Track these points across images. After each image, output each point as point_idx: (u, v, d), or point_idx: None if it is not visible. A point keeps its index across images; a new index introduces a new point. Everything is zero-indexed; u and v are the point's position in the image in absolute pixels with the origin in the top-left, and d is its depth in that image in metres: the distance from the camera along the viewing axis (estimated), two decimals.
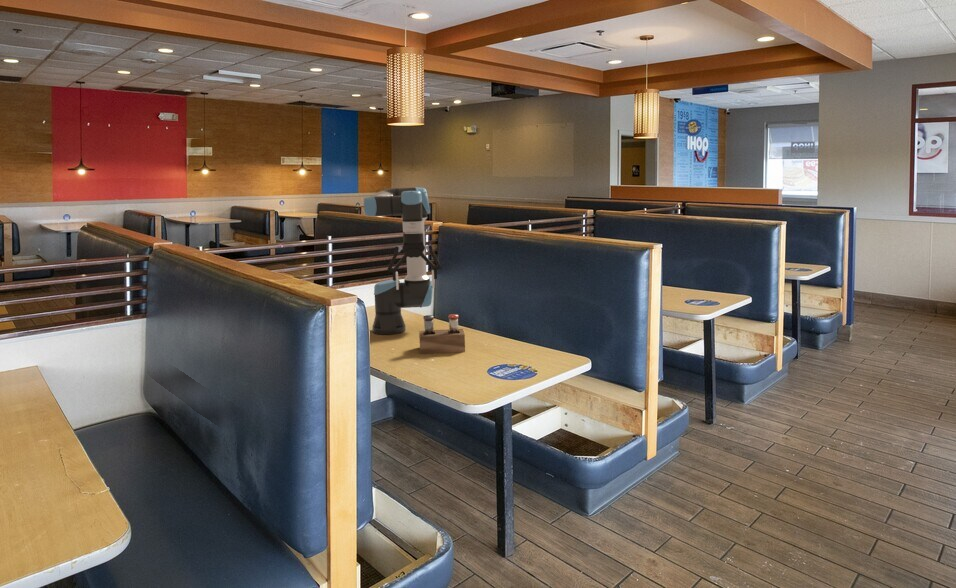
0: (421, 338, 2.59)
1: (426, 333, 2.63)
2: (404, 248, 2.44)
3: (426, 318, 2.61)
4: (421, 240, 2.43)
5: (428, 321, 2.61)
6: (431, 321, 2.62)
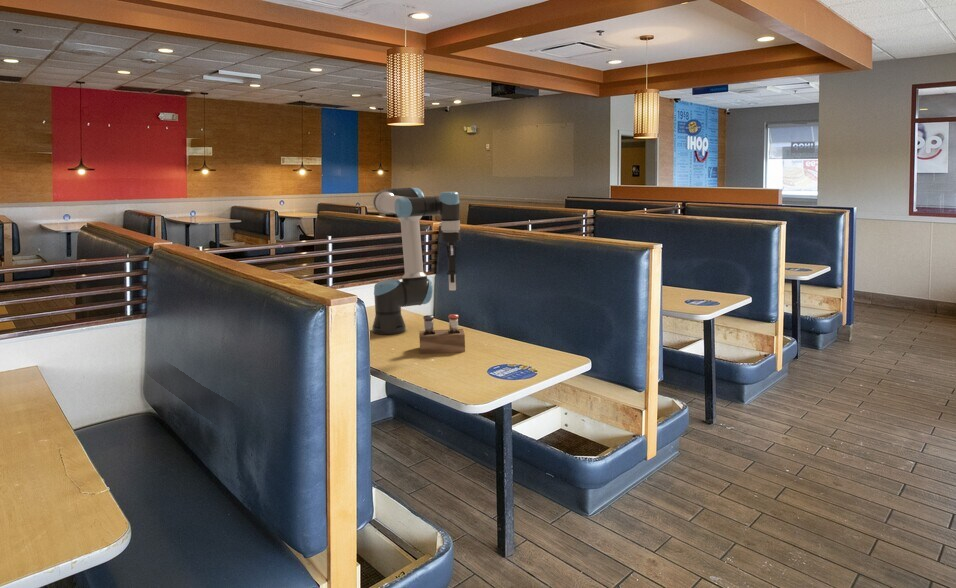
0: (421, 338, 2.59)
1: (426, 333, 2.63)
2: None
3: (426, 318, 2.61)
4: (445, 239, 2.55)
5: (428, 321, 2.61)
6: (431, 321, 2.62)
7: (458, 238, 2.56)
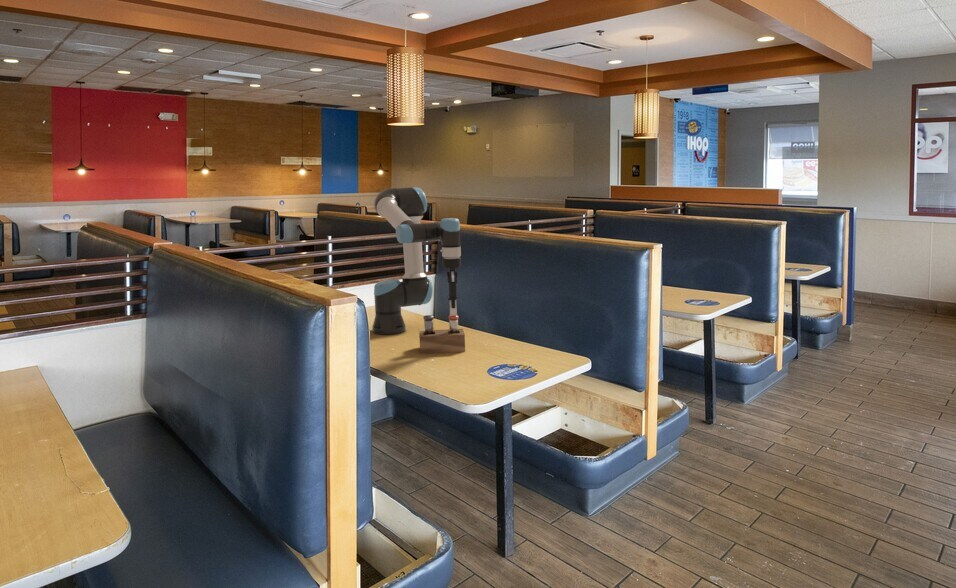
0: (421, 338, 2.59)
1: (426, 333, 2.63)
2: None
3: (426, 318, 2.61)
4: (446, 265, 2.57)
5: (428, 321, 2.61)
6: (431, 321, 2.62)
7: (459, 264, 2.58)
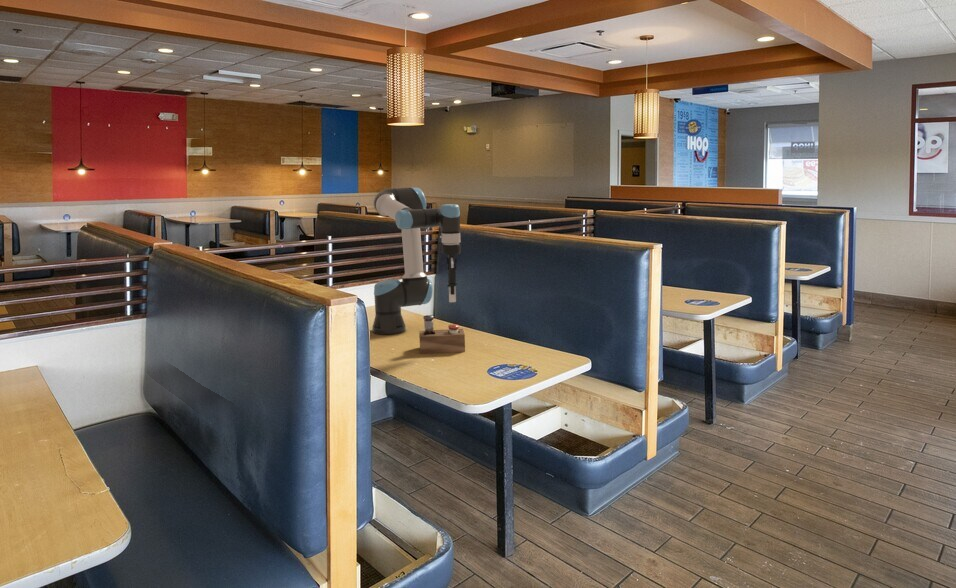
0: (421, 338, 2.59)
1: (426, 333, 2.63)
2: None
3: (426, 318, 2.61)
4: (446, 252, 2.56)
5: (428, 321, 2.61)
6: (431, 321, 2.62)
7: (458, 251, 2.57)
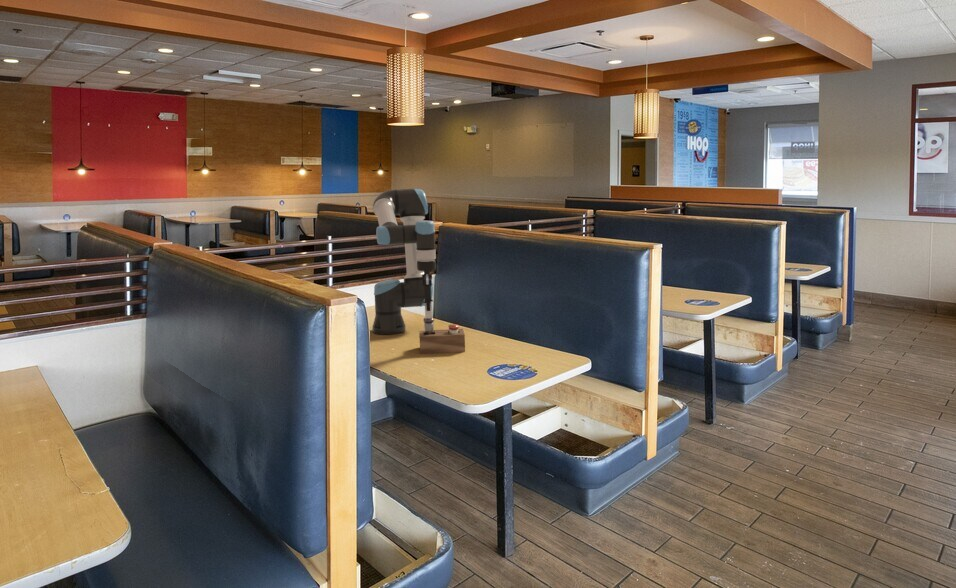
0: (421, 338, 2.59)
1: None
2: None
3: (426, 320, 2.61)
4: (421, 268, 2.56)
5: (428, 323, 2.61)
6: (431, 323, 2.62)
7: (434, 267, 2.57)
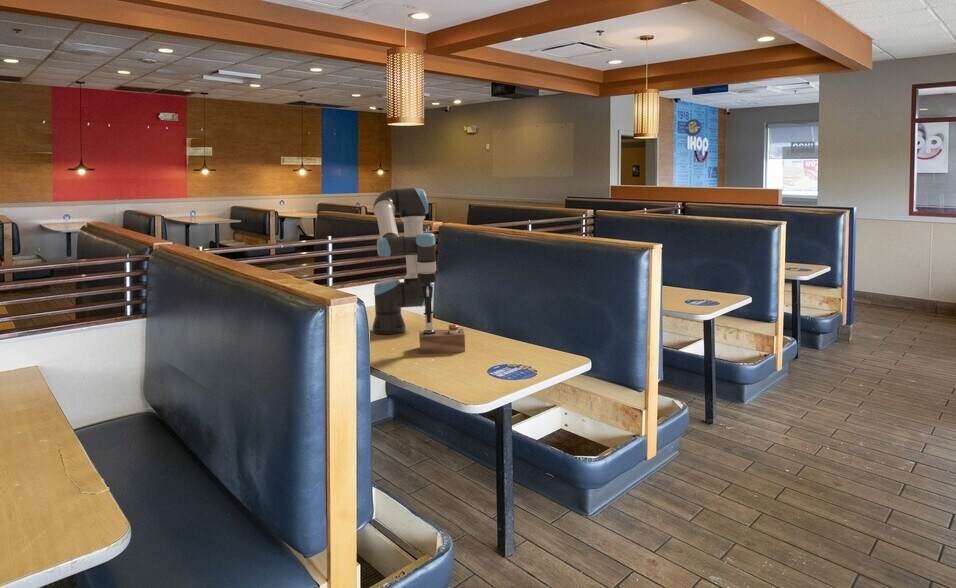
0: (421, 338, 2.59)
1: None
2: None
3: (427, 332, 2.62)
4: (421, 280, 2.57)
5: None
6: None
7: (434, 279, 2.58)
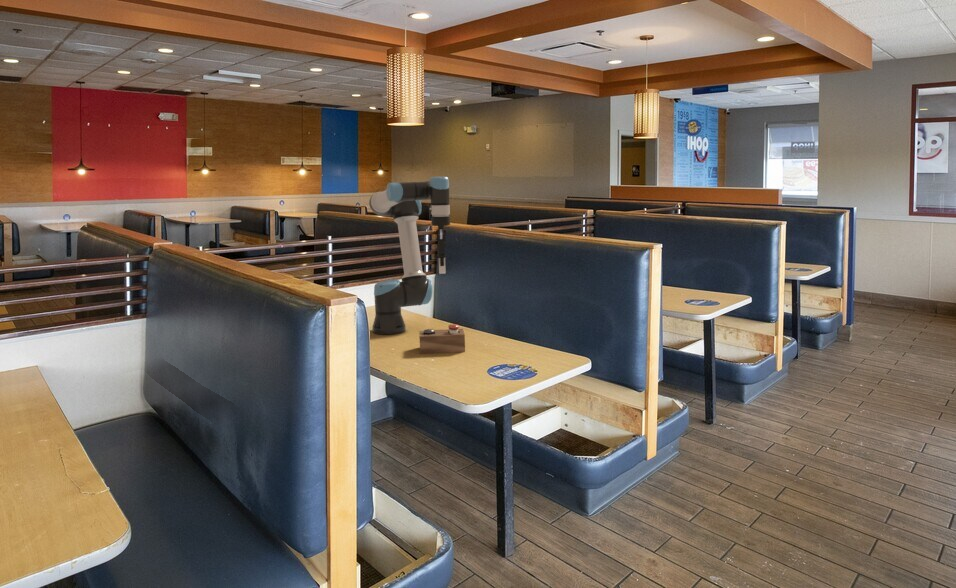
0: (421, 338, 2.59)
1: None
2: None
3: (427, 332, 2.62)
4: (435, 223, 2.60)
5: None
6: None
7: (448, 222, 2.61)
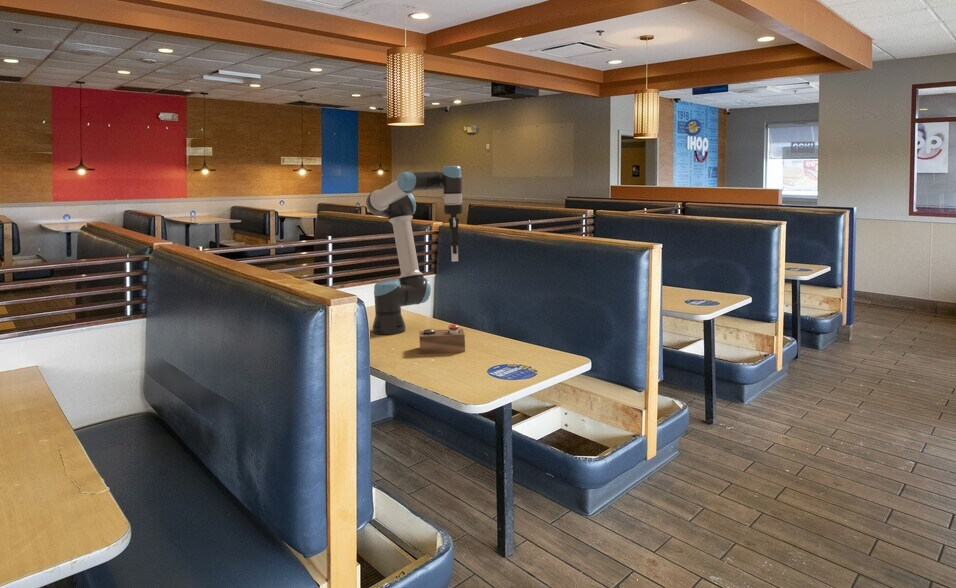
0: (421, 338, 2.59)
1: None
2: (450, 217, 2.72)
3: (427, 332, 2.62)
4: (448, 211, 2.65)
5: None
6: None
7: (460, 210, 2.66)
